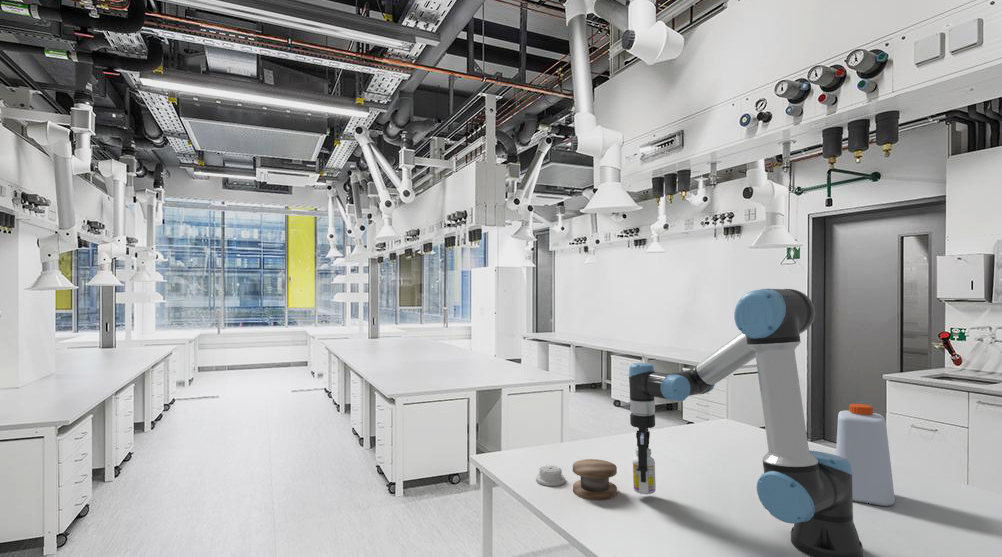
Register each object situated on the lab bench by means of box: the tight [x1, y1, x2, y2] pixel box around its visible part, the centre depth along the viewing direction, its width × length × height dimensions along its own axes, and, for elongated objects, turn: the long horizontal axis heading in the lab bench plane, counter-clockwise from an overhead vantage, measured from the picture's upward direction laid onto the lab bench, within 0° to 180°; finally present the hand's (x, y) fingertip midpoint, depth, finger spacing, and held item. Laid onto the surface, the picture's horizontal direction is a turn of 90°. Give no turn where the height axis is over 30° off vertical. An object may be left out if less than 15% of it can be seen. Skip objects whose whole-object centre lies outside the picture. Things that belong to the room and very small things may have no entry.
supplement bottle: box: [632, 447, 657, 495], centre depth 159 cm, size 7×7×13 cm
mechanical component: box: [535, 464, 566, 487], centre depth 174 cm, size 10×4×10 cm
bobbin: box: [572, 458, 618, 501], centre depth 165 cm, size 14×14×8 cm
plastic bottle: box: [835, 403, 896, 507], centre depth 160 cm, size 15×15×28 cm
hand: (644, 487), depth 159 cm, fingers closed on supplement bottle, 7 cm apart
